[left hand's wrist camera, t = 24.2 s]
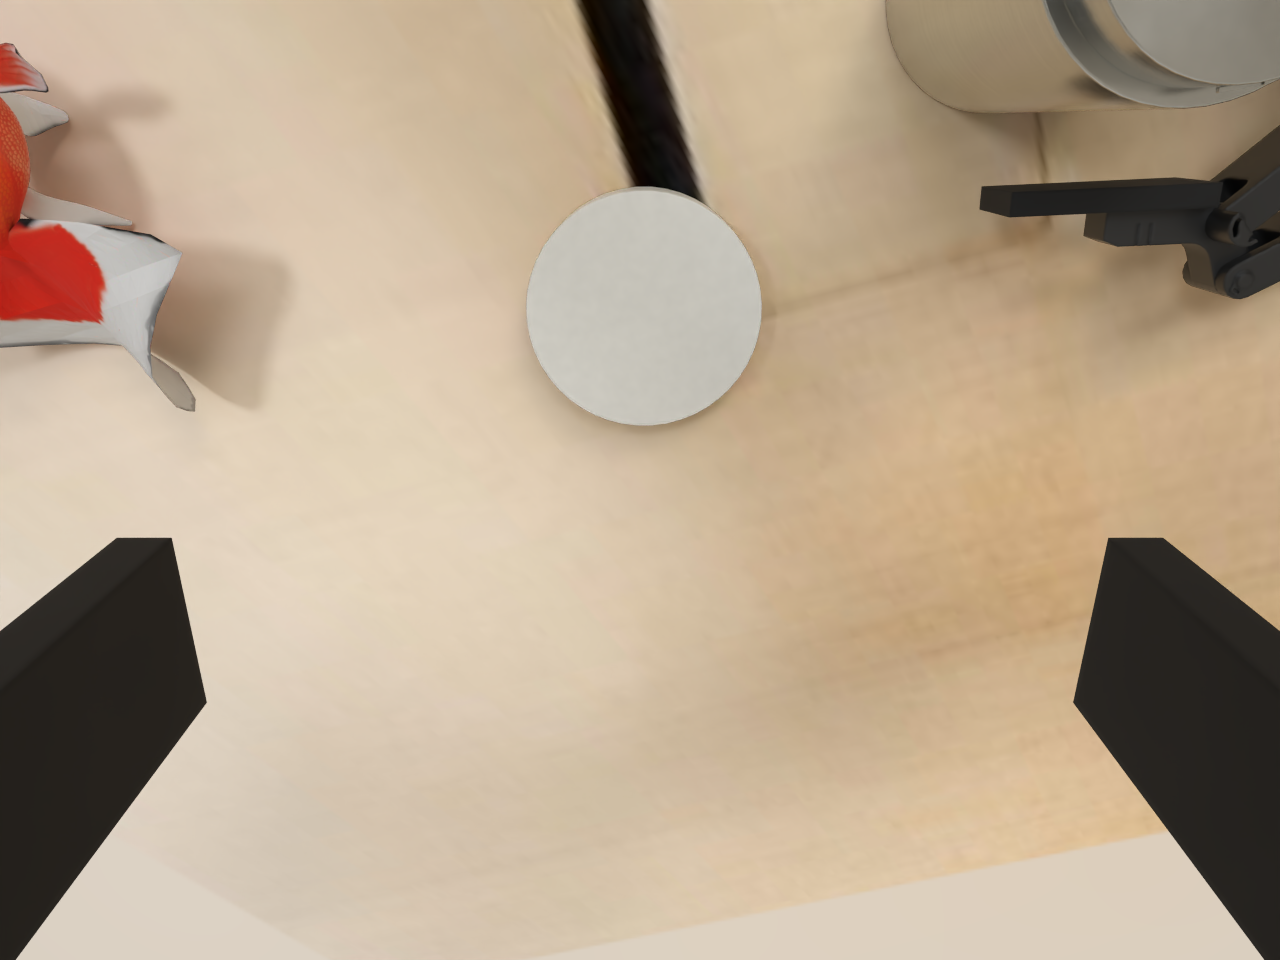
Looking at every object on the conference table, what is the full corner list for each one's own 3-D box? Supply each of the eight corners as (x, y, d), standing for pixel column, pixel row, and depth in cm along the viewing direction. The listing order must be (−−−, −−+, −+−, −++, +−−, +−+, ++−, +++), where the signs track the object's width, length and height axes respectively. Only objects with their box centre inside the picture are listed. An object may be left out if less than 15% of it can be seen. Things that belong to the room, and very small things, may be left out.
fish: (100, -85, 28) (-161, 67, 22) (331, 318, 39) (203, 493, 33) (-135, -40, 31) (-416, 103, 25) (139, 318, 42) (-8, 477, 36)
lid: (487, 272, 36) (478, 281, 34) (675, 137, 34) (678, 138, 32) (615, 449, 39) (614, 466, 37) (796, 333, 37) (805, 345, 35)
